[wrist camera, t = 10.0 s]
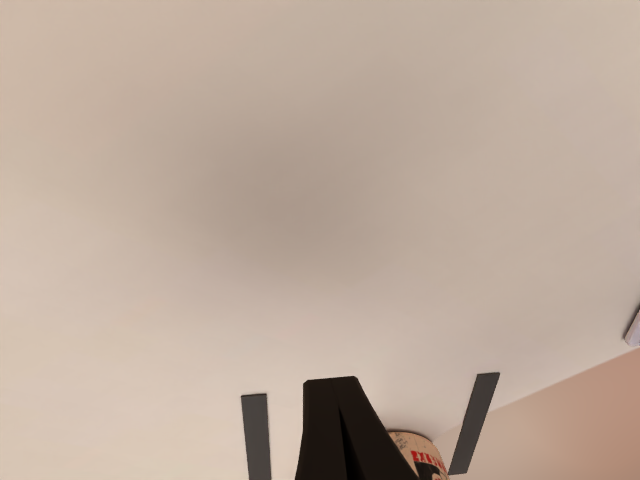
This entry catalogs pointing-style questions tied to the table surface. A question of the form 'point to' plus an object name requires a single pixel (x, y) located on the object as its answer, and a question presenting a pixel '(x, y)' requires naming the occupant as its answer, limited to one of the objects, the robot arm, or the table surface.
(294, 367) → the table surface
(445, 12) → the table surface
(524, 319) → the table surface
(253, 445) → the tape marks
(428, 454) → the teacup with lid
